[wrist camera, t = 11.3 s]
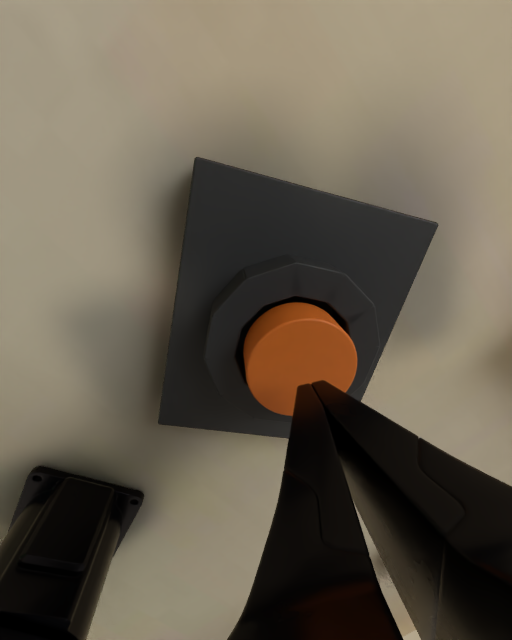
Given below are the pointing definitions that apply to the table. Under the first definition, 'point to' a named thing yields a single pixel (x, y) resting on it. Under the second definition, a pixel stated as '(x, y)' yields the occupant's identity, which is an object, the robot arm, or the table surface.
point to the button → (296, 354)
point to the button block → (276, 286)
